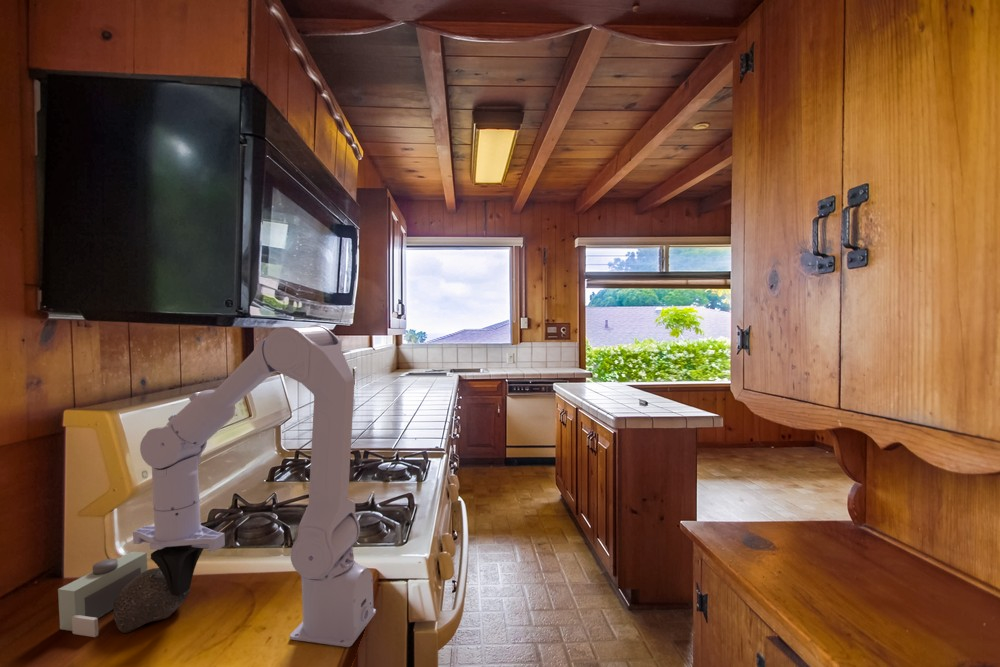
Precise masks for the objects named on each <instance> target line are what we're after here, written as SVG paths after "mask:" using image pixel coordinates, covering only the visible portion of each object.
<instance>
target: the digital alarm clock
mask: <svg viewBox="0 0 1000 667" xmlns="http://www.w3.org/2000/svg"><path fill="white" fill-rule="evenodd" d="M147 556H148V554H147V552H142V551H129V553H126V554H124V555H122V556H120V557H118V558H107V559H104V560H101V561H98V562H96V563H94V564H93V565H92V571H91V572H89V573H87V574H85V575H83V576H81V577H79V578H77V579H75V580H73V581H71V582H70V583H67V584H65V585H63V586H61V587H59V588H58V589H57V594H58V613H59V629H60V630H63V631H64V630H65V631H70V632H72V634H73V635H79V636H85V637H90V638H91V637H92V638H96V637H98V636H99V619H100V618H101V617H102V616H105V614H107V613H109V612H111V611H112V610H113V608H114V606H113V605H114V600H115V598H116V597H117V595H118V594H119V593H120V592H121V591H122V589H123V588H124V587H125V586H126V585H127V584H128V583H129V582H131V581H132V580H133V579H134V578H135V577H137V576H138V575H140V574H141V573H143V572H145V571H147V570H148V557H147ZM113 611H114V610H113Z"/></svg>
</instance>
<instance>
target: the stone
mask: <svg viewBox="0 0 1000 667" xmlns="http://www.w3.org/2000/svg"><path fill="white" fill-rule="evenodd" d="M191 590H192V589H191V588H190V589H189V590H187V591H186V592H184V593H183V594H181V595H180V596H175V595H172V594H171V592H170V590H169V587H168V584H167V582H166V579H165V577H164V575H163V573H162V571H161V570H160V568H159V567H156V568H155V567H153V568H150V569H147V571H145V572H143V573H141V574H140V575H138V576H137V577H135V578H134V579H133V580H132V581H131V582H129V583H128V584H127V585H126V586H125V587H124V588H123V589H122V591H121V592H120V593H119V594H118V595H117V597H116V598H115V600H114V605H113V606H114V608H113V617H112V618H113V619H114V622H115V623H116V624H115V625H116V627H117V629H118V630H119V631H120V632H121V633H123V634H127V633H128V634H129V633H132V632H133V631H135V630H137V629H139V628H140V627H142V626H143V625H144V626H145V624H148V623H152V622H157V621H158V622H159V621H161V620H164V619H167V618H169V617H170V616H171V615H173V613H174V612H176V610H177V609H178V608H179V607H180V606H182V604H183V603H184V602H186V600H187V599H188V597H189V594H190V593H191Z"/></svg>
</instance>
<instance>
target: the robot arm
mask: <svg viewBox="0 0 1000 667" xmlns="http://www.w3.org/2000/svg"><path fill="white" fill-rule="evenodd" d="M342 344H343V342H342V340H341V339H340V338H339V337H338V336H337V335H335V333H334V332H332V331H331V330H330V329H328V328H327V327H325V326H324V325H318V324H316V325H310V326H295V327H294V326H292V327H291V326H279V327H277V328H275V329H273V330H272V331H271V332H270V333H269V334H268V335H267V336H266V338H262V339H261V340H259V341H258V342H257V343H256V345H255V347H254V349H253V351H252V352H250V354H249V355H248V356H247V357H246V358H245V359H244V360H243V361H242V362H241V363H240V364H239V365H238V366H237V367H236V368H235V369H234V370H233V371H232V372H231V374H229V375H228V376H227V378H226V379H225V380H224V381H223V382H222V383H220V385H219V386H218V387H217V388H216V389H205V390H203V391H199V392H194V393H192V394H191V395H190V396H189V397H188V400H189V401H190V402H189V403H188V404H187V405H186V406H184V407H183V408H182V409H181V410H180V411H179V412H177V413H174V414H171V415H170V417H168V420H167V421H168V422H167V423H166V425H165V426H163V427H155V428H150V429H149V430H148V431H147V432H146V434H145V435H144V436H143V438H142V439H141V442H140V444H139V450H140V451H139V452H140V456H141V458H142V460H143V461H144V462H145V464H147V465H148V466H149V467H150V468H151V479H152V481H151V482H152V504H153V526H152V525H144V526H142V527H140V528H138V529H134V530H133V531H132V541H133V542H132V543H133V545H140V544H142V543H146V544H147V543H149V549H150V550H155V551H153V552H151V553H150V559H151V561H152V562H153V563H155V565H156V566H157V568H160V570H161V571H162V573H163V575H164V577H165V579H166V582H167V584H168V587H169V590H170V592H171V594H172V595H175V596H180V595H181V594H183V593H184V592H186V591H187V590H189V589H191V584H192V581H193V576H194V573H195V569H196V566H197V563H198V561H199V558H200V556H201V555H202V552H203V551H204V549H208V551H209V552H214V553H215V552H216V551H218V550H220V549H221V548H223V547H225V545H226V543H225V541H226V540H225V538H226V537H225V532H220V531H216V530H213V529H211V528H208V527H206V526H204V525H202V523H201V504H200V502H201V501H200V479H199V478H200V477H199V466H200V465H201V464H202V461H201V460H202V458H201V457H202V456H201V455H202V453H203V452H204V451H205V449H206V447H207V443H208V440H210V439H211V438H212V437H213V436H214V435H215V434H217V432H219V431H220V430H221V429H222V428H223V427H224V426H225V425H226V424H228V422H230V421H231V420H232V419H233V418H234V416H235V413H236V412H235V411H236V410H235V405H236V404H238V403H239V402H240V401H241V400H242V399H243V398H245V397H246V396H247V395H248V394H249V393H251V392H252V391H254V389H256V388H257V387H258V386H259V385H261V384H262V383H264V381H265V380H267V379H268V378H269V377H270V376H273V374H275V373H280V374H282V375H284V376H286V377H288V378H290V379H292V380H294V381H296V382H298V383H301V384H302V385H303V386H304V387H305V388H306V389H307V390H308V391H309V392H311V393H312V395H313V411H312V412H313V414H312V415H313V416H312V430H311V431H312V432H311V450H310V451H311V452H310V466H309V467H310V469H309V470H310V471H309V485H308V486H309V487H308V488H309V491H308V505H307V507H306V509H305V511H304V512H303V515H302V517H301V520H300V521H299V522H300V523H299V524H298V532H297V538H296V540H295V541H294V542H293V544H292V546H291V550H290V561H291V562H290V563H291V564H292V567H293V568H294V570H295V571H296V572H297V574H299V575H300V579H301V599H302V601H301V604H302V622H301V623H300V624H299V625H298V626H297V627H296V628H295V629H294V630H292V632H291V633H290V634H289V639H290V640H293V641H301V642H308V643H313V644H314V643H316V644H321V645H323V644H324V645H329V646H336V647H344V648H350V647H351V646H353V644H354V643H355V642H356V640H357V639H358V638H359V636H360V635H361V634H362V632H363V631H364V630H365V628H366V627H367V626H368V624H369V622H370V621H371V620H372V618H373V617H374V616H375V615H376V613H377V609H376V608H374V579H373V572H372V570H371V568H370V567H367V566H364V565H361V564H359V563H358V562H356V561H355V556H354V546H353V545H355V543H356V542H357V541H358V539H359V536H360V533H361V526H360V522H359V519H358V518H357V514H356V503H355V501H353V500H352V499H350V498H349V490H350V489H349V488H350V471H351V470H350V469H351V453H352V452H351V451H352V450H351V449H352V433H353V430H352V429H353V417H354V416H353V415H354V399H355V398H354V397H355V377H354V374H353V373H352V371H351V368H350V366H349V364H348V362H347V359H346V357H345V355H344V353H343V350H342V348H343V347H342Z"/></svg>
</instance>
